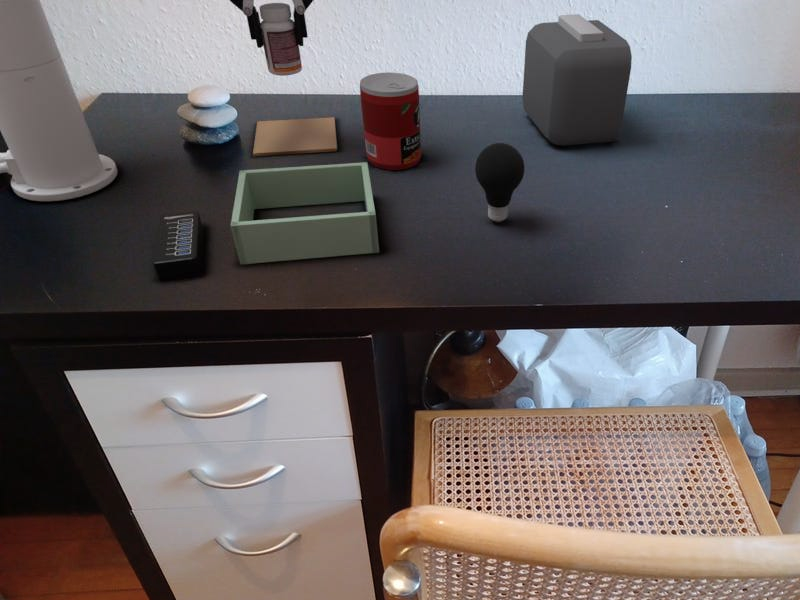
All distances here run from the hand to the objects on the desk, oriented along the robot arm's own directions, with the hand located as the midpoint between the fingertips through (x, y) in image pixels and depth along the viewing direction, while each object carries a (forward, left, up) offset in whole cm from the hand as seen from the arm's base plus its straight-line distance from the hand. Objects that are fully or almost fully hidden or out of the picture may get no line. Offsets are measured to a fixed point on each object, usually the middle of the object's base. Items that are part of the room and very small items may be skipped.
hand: (280, 42), depth 92 cm
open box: (+2, -28, -14) cm, 31 cm away
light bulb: (+25, -30, -14) cm, 41 cm away
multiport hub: (-13, -31, -14) cm, 36 cm away
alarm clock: (+42, -3, -14) cm, 44 cm away
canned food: (+14, -10, -14) cm, 22 cm away
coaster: (0, 0, -14) cm, 14 cm away
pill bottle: (0, 0, -4) cm, 4 cm away
